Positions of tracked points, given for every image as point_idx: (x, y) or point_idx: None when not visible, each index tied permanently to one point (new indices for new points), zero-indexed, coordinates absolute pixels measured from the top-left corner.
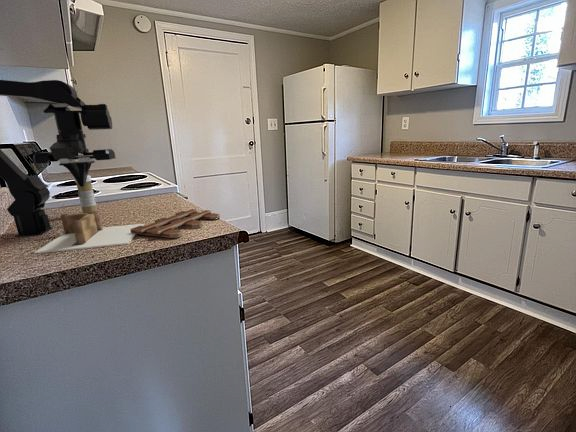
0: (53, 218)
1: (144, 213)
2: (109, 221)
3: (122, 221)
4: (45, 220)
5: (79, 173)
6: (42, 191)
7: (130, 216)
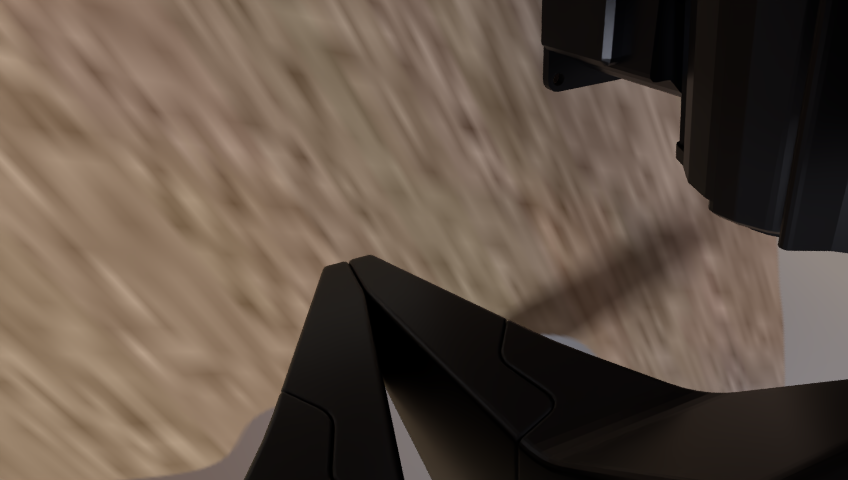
0: (630, 307)
1: (30, 430)
2: (200, 227)
3: (60, 219)
4: (582, 4)
5: (379, 397)
6: (780, 62)
7: (103, 353)
